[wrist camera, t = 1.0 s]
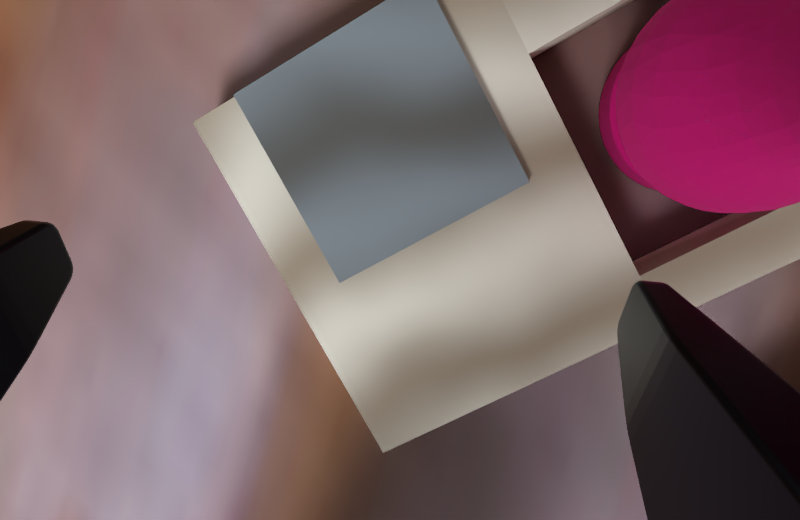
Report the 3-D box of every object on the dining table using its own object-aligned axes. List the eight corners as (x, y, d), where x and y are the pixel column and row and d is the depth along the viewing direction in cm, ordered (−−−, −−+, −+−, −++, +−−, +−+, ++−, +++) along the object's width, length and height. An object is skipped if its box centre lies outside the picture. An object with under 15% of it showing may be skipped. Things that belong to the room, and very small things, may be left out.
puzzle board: (892, 191, 20) (947, 194, 18) (388, 429, 24) (382, 457, 22) (727, -187, 19) (765, -235, 17) (215, 126, 22) (188, 121, 20)
